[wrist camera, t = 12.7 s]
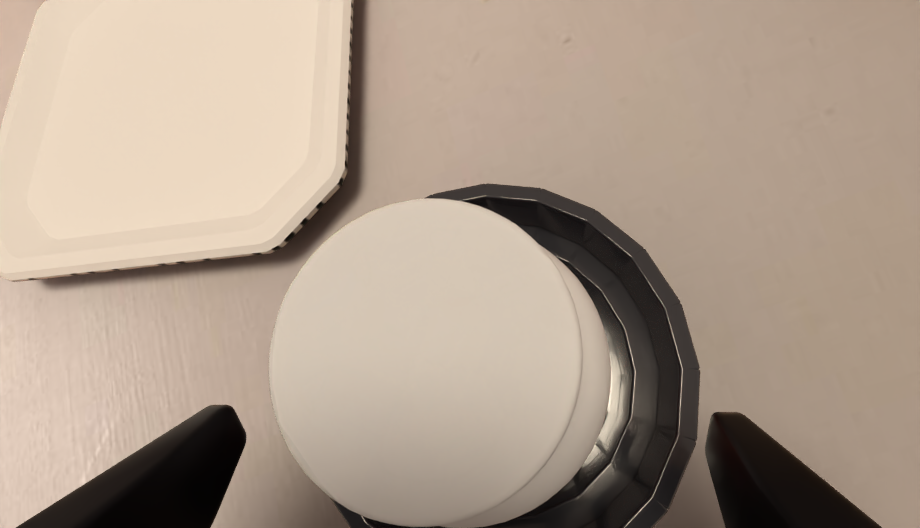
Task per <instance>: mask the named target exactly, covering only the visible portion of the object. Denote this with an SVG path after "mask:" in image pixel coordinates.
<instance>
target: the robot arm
mask: <svg viewBox="0 0 920 528" xmlns="http://www.w3.org/2000/svg"><path fill="white" fill-rule="evenodd" d="M245 443H246V432H245V430H244V428H243V426H242V424H241V422H240V420H239V418H238V416H237V414H236V412H235V410H234V409H233V408H232V407H231V406H229V405H211V406H208V407H206V408H204V409H203V410H201V411H200V412H198V413H197V414H195V415H193V416H192V417H190V418H189V419H187V420H185V421H184V422H182V423H181V424H179V425H178V426H176V427H174V428H173V429H171V430H170V431H168V432H166V433H165V434H163V435H162V436H160V437H159V438H157V439H155V440H154V441H152V442H151V443H149V444H147V445H146V446H144V447H143V448H141V449H140V450H138V451H136V452H135V453H133V454H132V455H130V456H128V457H127V458H125V459H124V460H122V461H121V462H119V463H117V464H116V465H114V466H113V467H111V468H109V469H108V470H106V471H105V472H103V473H102V474H100V475H98V476H97V477H95V478H94V479H92V480H91V481H89V482H87V483H86V484H84V485H83V486H81V487H79V488H78V489H76V490H75V491H73V492H72V493H70V494H68V495H67V496H65V497H64V498H62V499H60V500H59V501H57V502H56V503H54V504H53V505H51V506H49V507H48V508H46V509H45V510H43V511H41V512H40V513H38V514H37V515H35V516H34V517H32V518H30V519H29V520H27V521H26V522H24V523H22V524H21V525H19V526H18V527H16V528H210V527H211V525H212V523H213V521H214V519H215V517H216V514H217V512H218V510H219V508H220V505H221V503H222V500H223V498H224V495H225V493H226V490H227V488H228V486H229V483H230V481H231V478H232V476H233V473H234V471H235V468H236V466H237V464H238V461H239V459H240V456H241V454H242V451H243V449H244V446H245ZM705 452H706V459H707V463H708V466H709V470H710V474H711V477H712V481H713V484H714V488H715V491H716V495H717V498H718V502H719V506H720V509H721V513H722V516H723V520H724V523H725V527H726V528H882V527H881V526H879V525H878V524H877V523H876V522H875V521H873V520H872V519H871V518H870V517H868V516H867V515H866V514H865V513H864V512H862V511H861V510H860V509H859V508H857V507H856V506H855V505H854V504H853V503H851V502H850V501H849V500H848V499H846V498H845V497H844V496H843V495H841V494H840V493H839V492H838V491H837V490H835V489H834V488H833V487H832V486H830V485H829V484H828V483H827V482H826V481H824V480H823V479H822V478H821V477H819V476H818V475H817V474H816V473H815V472H813V471H812V470H811V469H810V468H808V467H807V466H806V465H805V464H804V463H802V462H801V461H800V460H799V459H797V458H796V457H795V456H794V455H793V454H791V453H790V452H789V451H788V450H786V449H785V448H784V447H783V446H782V445H780V444H779V443H778V442H777V441H775V440H774V439H773V438H772V437H771V436H769V435H768V434H767V433H766V432H764V431H763V430H762V429H761V428H759V427H758V426H757V425H756V424H755V423H753V422H752V421H751V420H750V419H748V418H747V417H746V416H745V415H743V414H741V413H737V412H715V413H714V414H713V415H712V416H711V419H710V424H709V429H708V435H707V440H706V445H705Z"/></svg>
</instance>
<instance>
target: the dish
mask: <svg viewBox="0 0 920 528" xmlns="http://www.w3.org/2000/svg"><path fill="white" fill-rule="evenodd" d="M426 198H434V199H449V200H456V201H463V202H467V203H470V204H474V205H478V206H481V207H483V208H486V209H488V210H490V211H492V212H494V213H496V214H498V215H500V216H502V217H504V218H506V219H508V220H510V221H511V222H513V223H515V224H516V225H517V226H519V227H520V228H521V229H522V230H523V231H525V232H526V233H527V234H528V235H529V236H531V237H532V238H533V239H534V240H535V241H536V242H537V243H538V244H539V245H541V246H542V247H544V248H545V249H546V250H548V251H549V252H550V253H552V254H553V255H554V256H555V257H556V258H557V259H559V260H560V261H561V262H562V263H563V264H564V265H565V266H566V267H567V268H568V269H569V270H570V271H571V272H572V273H573V274H574V275H575V276H576V277H577V279H578V280H579V281H580V283H581V284H582V285H583V287H584V288H585V290H586V291H587V293H588V295H589V296H590V298H591V299H592V301H593V303H594V305H595V307H596V309H597V311H598V314H599V316H600V319H601V322H602V325H603V328H604V331H605V334H606V338H607V342H608V347H609V355H610V364H611V385H610V395H609V402H608V407H607V411H606V416H605V419H604V423H603V426H602V429H601V431H600V434H599V436H598V438H597V440H596V442H595V445H594V447H593V449H592V451H591V452H590V454H589V456H588V457H587V459H586V460H585V462H584V463H583V465H582V467H581V468H580V469H579V470H578V472H577V473H576V474H575V475H574V477H573V478H572V479H571V480H570V481H569V482H568V483H567V484H566V485H565V486H564V487H563V488H562V489H560V490H559V491H558V492H557V493H556V494H555V495H553V496H552V497H551V498H550V499H548V500H547V501H546V502H544V503H543V504H541V505H539V506H538V507H536V508H535V509H533V510H531V511H529V512H527V513H525V514H523V515H521V516H519V517H516V518H514V519H511V520H509V521H506V522H502V523H498V524H494V525H490V526H485V527H475V528H653V526H654V525H655V524H656V523H657V522H658V521H659V520H660V519H661V518H662V517H663V516H664V515H665V514H666V513H667V511H668V510H667V509H669V508H670V506H671V504H672V501H673V499H674V496H675V494H676V491H677V489H678V487H679V484H680V482H681V479H682V477H683V474H684V472H685V470H686V467H687V465H688V462H689V460H690V457H691V455H692V453H693V450H694V448H695V445H696V442H695V441H696V440H697V430H698V408H699V386H700V370H699V368H700V367H699V363H698V360H697V356H696V353H695V349H694V346H693V342H692V339H691V335H690V332H689V329H688V325H687V322H686V318H685V315H684V311H683V308H682V305H681V304H680V300H679V299H678V297H677V296H676V294H675V293H674V291H673V290H672V288H671V287H670V286H669V284H668V283H667V281H666V280H665V278H664V277H663V275H662V274H661V272H660V271H659V269H658V268H657V266H656V265H655V263H654V262H653V260H652V259H651V257H650V256H649V254H648V253H647V251H646V250H645V249H643V247H642V246H641V245H639V244H638V243H637V242H636V241H634V240H633V239H632V238H631V237H629V236H628V235H627V234H626V233H624V232H623V231H622V230H621V229H619V228H618V227H617V226H616V225H614V224H613V223H612V222H611V221H609V220H608V219H607V218H606V217H604V216H603V215H602V214H601V213H599V212H598V211H595V209H593V208H590V207H588V206H585V205H583V204H580V203H578V202H575V201H572V200H570V199H567V198H565V197H562V196H560V195H557V194H555V193H552V192H550V191H547V190H545V189H541V188H533V187H521V186H510V185H498V184H481V185H476V186H471V187H466V188H461V189H456V190H451V191H446V192H441V193H436V194H433V195H430V196H428V197H426ZM424 199H425V198H424ZM331 500H332V501H333V503H334V504H335V506H336V507H337V508H338V510H339V511H340V513H341V514H342V516H343V517H344V519H345V520H346V522H347V523H348V525H349V526H350V528H447V527H442V526H432V527H407V526H399V525H393V524H388V523H383V522H380V521H376V520H373V519H369V518H367V517H364V516H362V515H360V514H358V513H356V512H353V511H351V510H349V509H347V508H346V507H344V506H343V505H341V504H340V503H338V502H336V501H335V500H333V499H332V498H331Z"/></svg>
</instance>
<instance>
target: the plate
mask: <svg viewBox="0 0 920 528" xmlns="http://www.w3.org/2000/svg"><path fill="white" fill-rule="evenodd" d="M353 4H354V0H46V1H45V2H44V3H42V4H41V6H40V7H39V9H38V10H37V12H36V15H35V18H34V22H33V25H32V28H31V31H30V34H29V37H28V41H27V44H26V47H25V50H24V53H23V56H22V60H21V63H20V66H19V69H18V72H17V76H16V79H15V82H14V85H13V88H12V91H11V95H10V98H9V101H8V104H7V107H6V110H5V114H4V117H3V120H2V123H1V126H0V276H1V277H2V278H5V279H7V280H9V281H13V282H19V281H28V280H37V279H46V278H55V277H64V276H73V275H82V274H91V273H99V272H108V271H117V270H126V269H135V268H144V267H153V266H162V265H171V264H180V263H189V262H198V261H207V260H216V259H225V258H234V257H243V256H252V255H261V254H270V253H273V252H275V251H276V250H278V249H280V248H282V247H284V246H285V245H286V244H287V243H288V242H289V241H290V240H291V239H292V238H293V237H294V235H295V234H296V233H297V232H298V231H299V230H300V229H301V228H302V227H303V226H304V225H305V224H306V223H307V222H308V221H309V220H310V219H311V217H312V216H313V215H314V214H315V213H316V212H317V211H318V210H319V209H320V208H321V207H322V206H323V205H324V204H325V203H326V202H327V201H328V199H329V198H330V197H331V196H332V195H333V194H334V193H335V192H336V191H337V190H338V189H339V188H340V187H341V186H342V183H343V181H344V179H345V176H346V174H347V164H348V137H349V110H350V83H351V56H352V30H353Z"/></svg>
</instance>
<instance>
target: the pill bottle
mask: <svg viewBox="0 0 920 528" xmlns="http://www.w3.org/2000/svg"><path fill="white" fill-rule="evenodd" d="M269 385H270V395H271V400H272V405H273V410H274V414H275V417H276V420H277V423H278V426H279V429H280V432H281V434H282V436H283V438H284V440H285V443H286V445H287V447H288V449H289V451H290V452H291V454H292V456H293V457H294V459H295V460H296V461H297V463H298V464H299V465H300V467H301V468H302V470H303V471H304V472H305V474H306V475H307V476H308V478H310V479H311V480H312V481H313V482H314V483H315V484H316V485H317V486H318V487H319V488H320V489H321V490H322V491H324V492H325V493H326V494H327V495H328V496H329V497H330V498H332V499H333V500H335V501H336V502H338V503H340V504H341V505H343V506H344V507H346V508H347V509H349V510H351V511H353V512H356V513H358V514H360V515H362V516H364V517H367V518H369V519H373V520H376V521H380V522H383V523H388V524H393V525H399V526H407V527H432V526H442V527H447V528H475V527H485V526H490V525H494V524H498V523H502V522H506V521H509V520H511V519H514V518H516V517H519V516H521V515H523V514H525V513H527V512H529V511H531V510H533V509H535V508H536V507H538V506H539V505H541V504H543V503H544V502H546V501H547V500H548V499H550V498H551V497H552V496H553V495H555V494H556V493H557V492H558V491H559V490H560V489H562V488H563V487H564V486H565V485H566V484H567V483H568V482H569V481H570V480H571V479H572V478H573V477H574V475H575V474H576V473H577V472H578V470H579V469H580V468H581V467H582V465H583V463H584V462H585V460H586V459H587V457H588V456H589V454H590V452H591V451H592V449H593V447H594V445H595V442H596V440H597V438H598V436H599V434H600V431H601V429H602V426H603V423H604V419H605V416H606V411H607V407H608V402H609V395H610V385H611V364H610V355H609V347H608V342H607V338H606V334H605V331H604V328H603V325H602V322H601V319H600V316H599V314H598V311H597V309H596V307H595V305H594V303H593V301H592V299H591V298H590V296H589V295H588V293H587V291H586V290H585V288H584V287H583V285H582V284H581V283H580V281H579V280H578V279H577V277H576V276H575V275H574V274H573V273H572V272H571V271H570V270H569V269H568V268H567V267H566V266H565V265H564V264H563V263H562V262H561V261H560V260H559V259H557V258H556V257H555V256H554V255H553V254H552V253H550V252H549V251H548V250H546V249H545V248H544V247H542V246H541V245H539V244H538V243H537V242H536V241H535V240H534V239H533V238H532V237H531V236H529V235H528V234H527V233H526V232H525V231H523V230H522V229H521V228H520V227H519V226H517V225H516V224H515V223H513V222H511V221H510V220H508V219H506V218H504V217H502V216H500V215H498V214H496V213H494V212H492V211H490V210H488V209H486V208H483V207H481V206H478V205H474V204H470V203H467V202H463V201H456V200H449V199H434V198H425V199H414V200H408V201H403V202H397V203H394V204H390V205H387V206H384V207H381V208H378V209H375V210H372V211H370V212H368V213H366V214H364V215H363V216H361V217H359V218H357V219H355V220H353V221H351V222H350V223H349V224H347V225H346V226H344V227H343V228H341V229H340V230H338V231H337V232H336V233H334V234H333V235H332V236H330V237H329V238H328V239H327V240H326V241H325V242H324V243H323V244H322V245H321V246H320V247H319V248H318V249H317V250H316V251H315V252H314V253H313V254H312V255H311V257H310V258H309V259H308V260H307V262H306V263H305V264H304V265H303V267H302V268H301V270H300V271H299V273H298V274H297V276H296V277H295V279H294V280H293V282H292V283H291V285H290V287H289V289H288V291H287V293H286V295H285V297H284V300H283V302H282V305H281V307H280V310H279V313H278V316H277V319H276V322H275V326H274V330H273V334H272V339H271V344H270V354H269Z"/></svg>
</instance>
